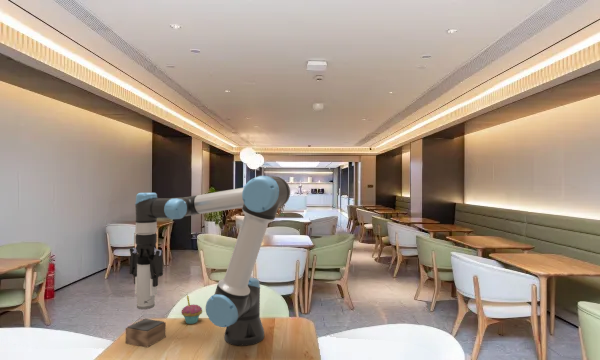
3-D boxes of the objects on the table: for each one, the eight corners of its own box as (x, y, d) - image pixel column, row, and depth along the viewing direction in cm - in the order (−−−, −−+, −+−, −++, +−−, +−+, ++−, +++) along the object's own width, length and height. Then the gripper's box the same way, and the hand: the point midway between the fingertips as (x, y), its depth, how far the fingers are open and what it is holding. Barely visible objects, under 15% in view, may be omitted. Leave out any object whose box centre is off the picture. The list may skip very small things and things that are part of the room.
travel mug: (149, 310, 143) (149, 256, 143) (133, 309, 145) (133, 255, 145) (158, 305, 150) (158, 253, 149) (143, 303, 151) (143, 252, 151)
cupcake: (180, 326, 161) (180, 297, 161) (182, 318, 170) (182, 291, 170) (201, 324, 163) (201, 296, 163) (202, 317, 171) (202, 290, 171)
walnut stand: (165, 336, 150) (165, 321, 150) (147, 347, 141) (147, 330, 141) (144, 333, 154) (144, 318, 154) (125, 343, 144) (125, 327, 144)
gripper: (173, 233, 147) (173, 293, 147) (133, 230, 154) (133, 288, 154) (160, 236, 140) (159, 299, 140) (118, 233, 147) (118, 294, 147)
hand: (145, 293), depth 147 cm, fingers closed on travel mug, 6 cm apart
